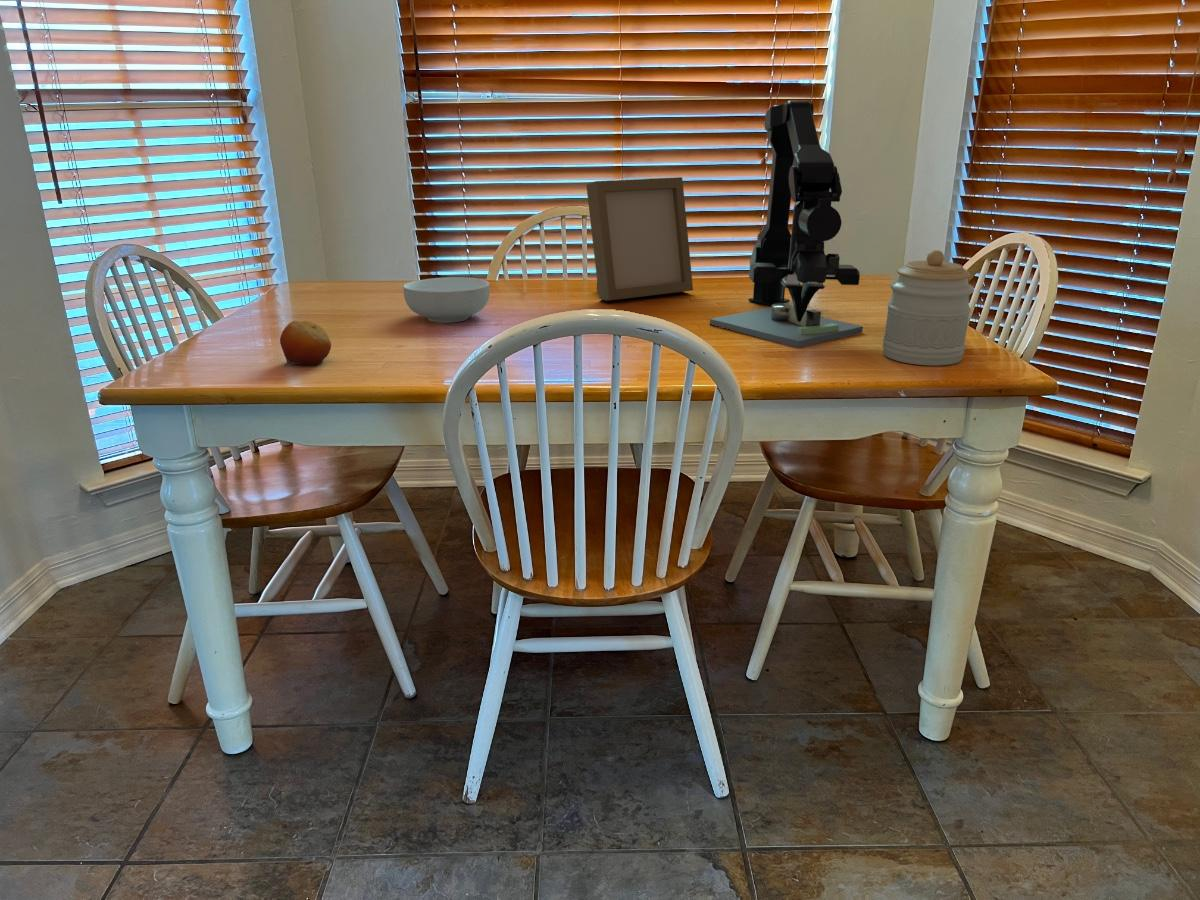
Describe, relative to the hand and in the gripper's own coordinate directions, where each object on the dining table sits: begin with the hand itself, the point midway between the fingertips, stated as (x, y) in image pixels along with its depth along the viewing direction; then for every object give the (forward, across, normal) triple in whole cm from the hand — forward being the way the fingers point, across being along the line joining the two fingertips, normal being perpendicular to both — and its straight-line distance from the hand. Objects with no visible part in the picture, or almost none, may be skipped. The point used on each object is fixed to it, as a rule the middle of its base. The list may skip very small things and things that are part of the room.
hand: (798, 321), depth 158 cm
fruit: (+5, -84, -19) cm, 87 cm away
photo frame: (+3, -29, +39) cm, 49 cm away
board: (+3, -1, +5) cm, 6 cm away
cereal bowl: (+4, -67, +14) cm, 68 cm away
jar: (+3, +18, -14) cm, 23 cm away
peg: (+1, 0, +5) cm, 5 cm away
